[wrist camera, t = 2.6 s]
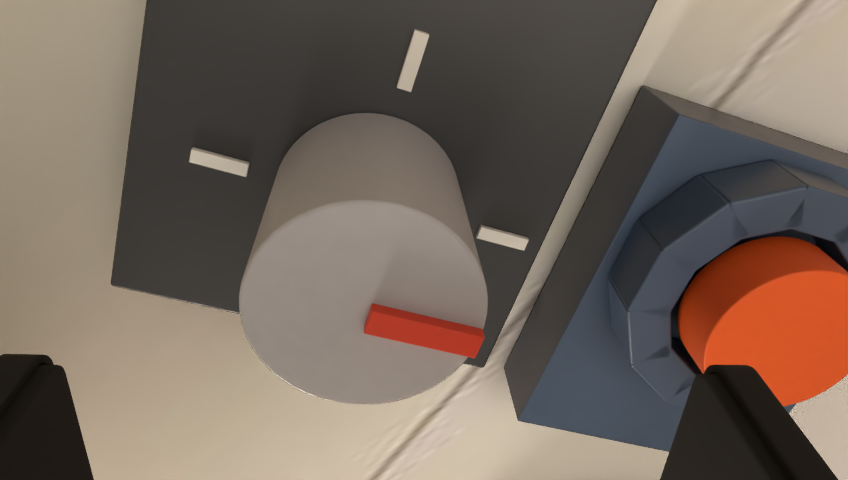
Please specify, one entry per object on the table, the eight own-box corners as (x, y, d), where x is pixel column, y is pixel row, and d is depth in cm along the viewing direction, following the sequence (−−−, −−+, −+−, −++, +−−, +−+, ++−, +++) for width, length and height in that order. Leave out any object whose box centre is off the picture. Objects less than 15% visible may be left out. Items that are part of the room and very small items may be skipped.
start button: (648, 349, 19) (673, 391, 17) (729, 217, 17) (764, 251, 15) (777, 380, 20) (811, 422, 18) (868, 258, 18) (914, 294, 16)
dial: (256, 255, 18) (214, 390, 13) (297, 87, 15) (264, 177, 11) (425, 296, 19) (442, 435, 14) (486, 143, 16) (529, 247, 12)
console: (143, 234, 20) (107, 290, 18) (207, -205, 15) (170, -223, 12) (471, 312, 23) (484, 372, 20) (628, -45, 17) (676, -30, 15)
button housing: (503, 367, 24) (528, 464, 20) (642, 84, 19) (711, 138, 15) (712, 414, 26) (773, 510, 22) (887, 167, 21) (1005, 234, 17)
